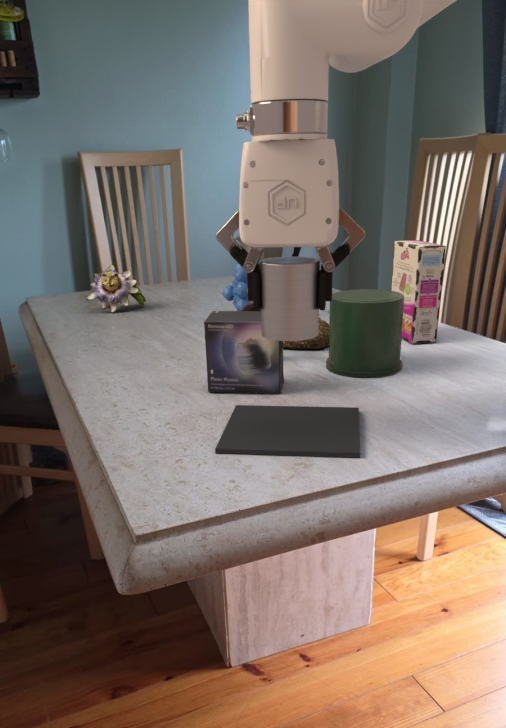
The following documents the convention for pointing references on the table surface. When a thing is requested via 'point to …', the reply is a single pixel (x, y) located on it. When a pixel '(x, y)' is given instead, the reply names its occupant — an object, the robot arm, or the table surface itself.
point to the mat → (292, 431)
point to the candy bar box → (419, 287)
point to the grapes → (238, 289)
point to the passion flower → (114, 289)
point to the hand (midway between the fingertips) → (290, 306)
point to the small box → (241, 354)
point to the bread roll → (312, 339)
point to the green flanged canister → (365, 333)
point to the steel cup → (289, 298)
